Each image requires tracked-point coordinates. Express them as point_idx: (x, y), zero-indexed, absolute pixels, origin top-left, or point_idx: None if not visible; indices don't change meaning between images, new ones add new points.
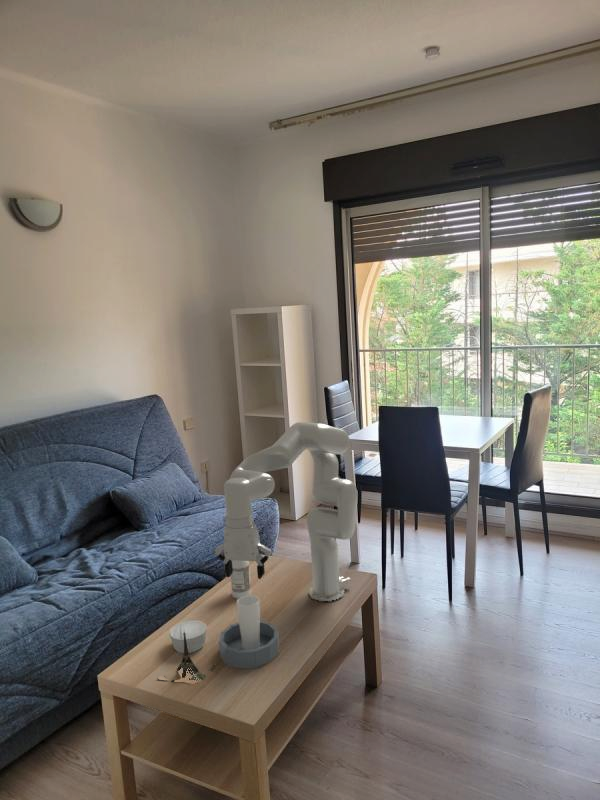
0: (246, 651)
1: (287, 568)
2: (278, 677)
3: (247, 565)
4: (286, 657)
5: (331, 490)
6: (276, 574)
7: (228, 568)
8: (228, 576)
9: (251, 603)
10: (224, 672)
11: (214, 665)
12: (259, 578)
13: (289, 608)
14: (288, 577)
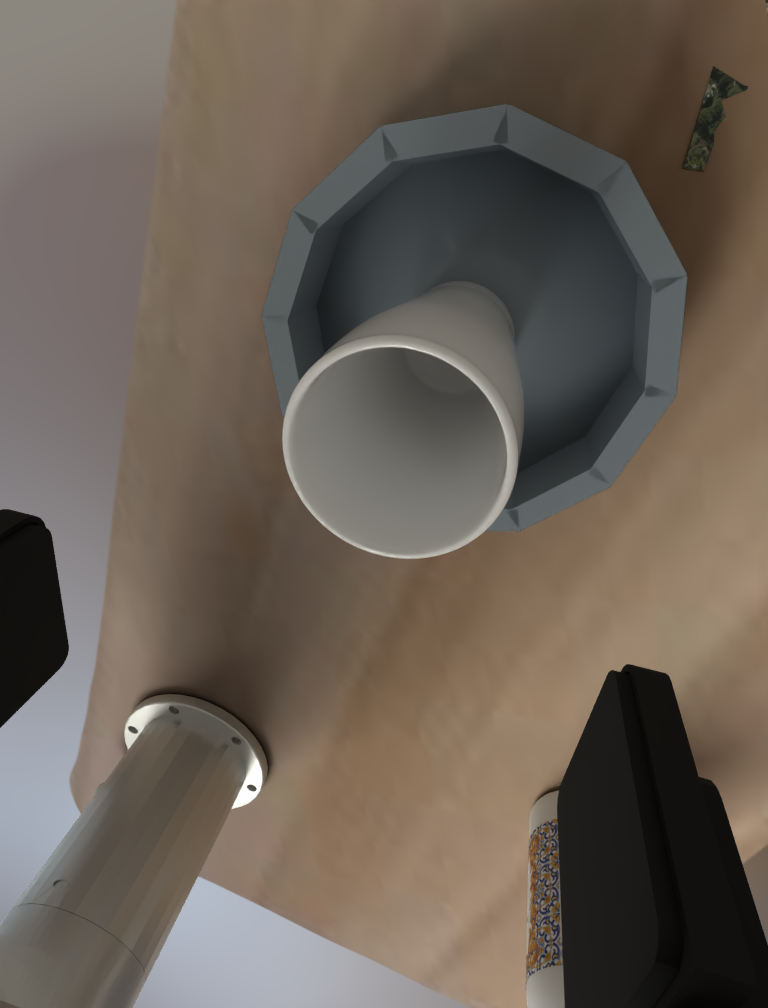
0: (443, 124)
1: (394, 929)
2: (247, 26)
3: (533, 976)
4: (250, 257)
5: None
6: (433, 907)
7: (645, 839)
8: (633, 671)
9: (401, 511)
10: (619, 61)
11: (702, 150)
12: (12, 510)
13: (329, 677)
14: (379, 877)
